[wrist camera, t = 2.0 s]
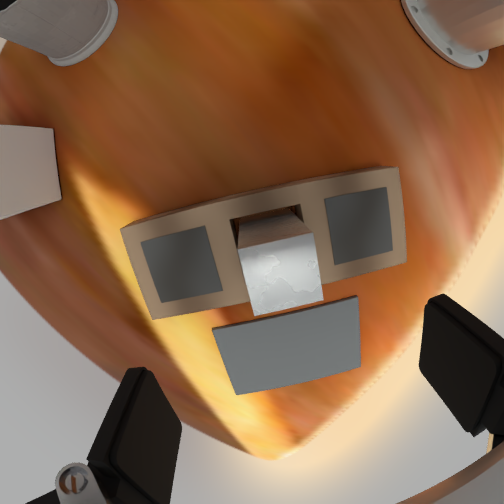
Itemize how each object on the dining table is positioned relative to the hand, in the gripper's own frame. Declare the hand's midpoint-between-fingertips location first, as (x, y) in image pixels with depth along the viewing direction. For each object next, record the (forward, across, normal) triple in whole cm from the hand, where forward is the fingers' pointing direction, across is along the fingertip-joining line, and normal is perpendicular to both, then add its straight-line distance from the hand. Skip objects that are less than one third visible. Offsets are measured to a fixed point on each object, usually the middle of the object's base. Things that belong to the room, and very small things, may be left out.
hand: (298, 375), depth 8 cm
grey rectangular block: (+16, -1, -1) cm, 16 cm away
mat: (+16, -1, +11) cm, 20 cm away
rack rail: (+16, -1, -1) cm, 16 cm away
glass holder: (+16, +12, -29) cm, 35 cm away
